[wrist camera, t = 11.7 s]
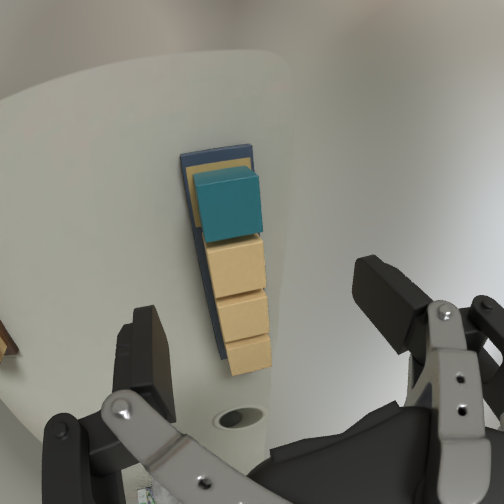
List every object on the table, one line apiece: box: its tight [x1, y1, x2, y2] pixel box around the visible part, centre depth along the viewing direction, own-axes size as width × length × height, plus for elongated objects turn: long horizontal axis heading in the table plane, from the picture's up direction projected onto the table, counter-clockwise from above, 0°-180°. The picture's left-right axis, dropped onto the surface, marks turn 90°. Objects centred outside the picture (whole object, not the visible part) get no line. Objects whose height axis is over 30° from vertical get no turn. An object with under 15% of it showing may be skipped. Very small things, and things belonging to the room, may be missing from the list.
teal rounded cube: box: [193, 165, 263, 243], centre depth 23 cm, size 4×4×4 cm
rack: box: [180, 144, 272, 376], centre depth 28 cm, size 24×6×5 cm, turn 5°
